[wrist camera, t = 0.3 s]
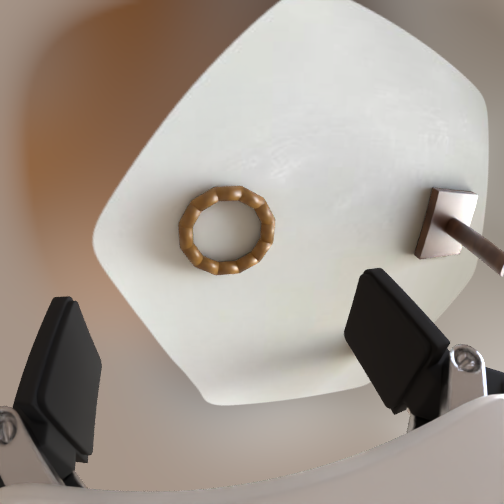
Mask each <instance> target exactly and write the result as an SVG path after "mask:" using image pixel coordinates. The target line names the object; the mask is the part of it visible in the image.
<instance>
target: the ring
mask: <svg viewBox="0 0 504 504" xmlns="http://www.w3.org/2000/svg"><path fill="white" fill-rule="evenodd" d="M237 200H238V201H240V202H242V203H244V204H246V205H248V206H250V207H252V208H253V209H254V210H255V212H256V214H257V215H258V217H259V219H260V221H261V235H260V239H259V241H258V242H257V244H256V245H255V247H254V248H253V250H252V251H251V252H250V253H248V254H246V255H245V256H243V257H241V258H239V259H238V260H236V261H225V262H217V261H214V260H212V259H209V258H207V257H205V256H203V255H202V254H201V253H200V251H199V250H198V249H197V247H196V246H195V245H194V243H193V225H194V224H195V222H196V220H197V218H198V217H199V215H200V213H201V211H203V210H205V209H206V208H208V207H210V206H211V205H213V204H215V203H216V202H218V201H237ZM178 227H179V241H180V248H181V250H182V251H183V253H184V254H185V255H186V257H187V258H188V259H189V260H190V262H191V263H192V264H193V266H195V267H197V268H199V269H202V270H204V271H207V272H209V273H211V274H214V275H225V274H237V273H241V272H243V271H244V270H246V269H248V268H250V267H251V266H253V265H255V264H257V263H259V262H260V261H261V259H262V258H263V257H264V255H265V254H266V252H267V251H268V249H269V248H270V246H271V245H272V243H273V239H274V228H275V218H274V216H273V214H272V212H271V210H270V208H269V207H268V205H267V203H266V201H265V199H264V198H263V197H261V196H259V195H257V194H256V193H254V192H252V191H250V190H248V189H246V188H245V187H243V186H222V187H213V188H212V189H210V190H208V191H206V192H205V193H203V194H201V195H200V196H198V197H196V198H195V199H193V200H192V201H191V202H190V203H189V205H188V207H187V209H186V211H185V212H184V214H183V216H182V218H181V220H180V222H179V224H178Z"/></svg>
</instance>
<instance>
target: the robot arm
mask: <svg viewBox="0 0 504 504" xmlns="http://www.w3.org/2000/svg"><path fill="white" fill-rule="evenodd" d="M344 337H345V340H346V341H347V343H348V345H349V346H350V348H351V349H352V351H353V353H354V354H355V356H356V358H357V359H358V361H359V363H360V364H361V366H362V367H363V369H364V371H365V372H366V374H367V376H368V377H369V379H370V381H371V382H372V384H373V385H374V387H375V389H376V391H377V392H378V394H379V396H380V397H381V399H382V401H383V402H384V404H385V406H386V407H387V408H389V409H391V410H392V412H393V413H394V415H395V414H397V413H400V412H402V411H404V410H406V409H407V408H408V409H409V410H410V418H409V423H408V428H407V433H406V434H404V435H402V436H400V437H398V438H395V439H393V440H391V441H389V442H386V443H384V444H382V445H379V446H377V447H374V448H372V449H369V450H367V451H364V452H362V453H359V454H357V455H354V456H351V457H348V458H345V459H342V460H339V461H336V462H333V463H330V464H327V465H324V466H320V467H317V468H314V469H310V470H307V471H303V472H299V473H295V474H291V475H287V476H283V477H279V478H274V479H269V480H264V481H259V482H253V483H247V484H241V485H235V486H227V487H220V488H211V489H200V490H188V491H164V492H137V491H111V490H97V489H88V488H87V486H86V485H85V484H84V483H83V481H82V480H81V479H80V477H79V476H78V475H77V473H76V472H75V462H83V463H88V455H91V454H92V452H93V439H94V425H95V415H96V405H97V398H98V390H99V389H98V388H99V382H100V375H101V368H102V364H101V359H100V357H99V354H98V352H97V350H96V348H95V345H94V343H93V340H92V338H91V336H90V333H89V331H88V328H87V326H86V323H85V321H84V318H83V315H82V313H81V310H80V308H79V304H78V302H77V301H73V300H72V298H71V297H55V298H53V300H52V302H51V304H50V306H49V308H48V311H47V313H46V315H45V317H44V320H43V322H42V325H41V327H40V329H39V332H38V334H37V337H36V339H35V342H34V344H33V347H32V349H31V352H30V355H29V357H28V360H27V363H26V366H25V369H24V372H23V375H22V378H21V381H20V384H19V387H18V390H17V394H16V397H15V401H14V404H13V408H11V407H8V406H0V504H504V373H503V372H500V371H497V370H493V369H490V368H487V367H485V366H484V361H483V358H482V357H481V355H480V353H478V351H477V350H475V349H474V348H472V347H471V346H468V345H464V344H458V345H455V346H454V347H452V349H451V350H450V351H449V350H448V349H447V347H448V346H449V344H450V341H449V340H448V339H447V338H446V337H445V336H444V334H443V333H442V332H441V331H440V330H439V329H438V328H437V326H435V324H434V323H433V322H432V321H431V320H430V319H429V318H428V316H427V315H426V314H425V313H424V312H423V311H422V310H421V309H420V308H419V307H418V305H417V304H416V303H415V302H414V301H413V300H412V299H411V298H410V297H409V296H408V295H407V294H406V293H405V292H404V291H403V290H402V288H401V287H400V286H399V285H398V284H397V283H396V282H395V281H394V280H393V279H392V278H391V277H390V276H389V275H388V274H387V273H386V272H385V271H384V270H383V269H381V268H375V269H367V270H365V271H364V273H363V274H362V275H361V276H360V278H359V282H358V285H357V289H356V293H355V296H354V300H353V303H352V307H351V310H350V314H349V317H348V320H347V324H346V327H345V330H344Z"/></svg>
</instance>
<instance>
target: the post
mask: <svg viewBox="0 0 504 504" xmlns="http://www.w3.org/2000/svg"><path fill="white" fill-rule="evenodd" d="M477 198H478V195H477V194H475V193H473V192H469V191H461V190H452V189H443V188H432V192H431V196H430V200H429V204H428V208H427V212H426V216H425V220H424V223H423V227H422V230H421V234H420V237H419V240H418V244H417V247H416V250H415V253H414V255H415V256H416V257H417V258H419V259H426V258H433V257H441V256H449V255H456V254H460V252H461V249H462V246H464V247H465V248H467V249H468V250H469V251H470V252H472V253H473V254H474V255H476V256H477V257H478V258H479V259H481V260H482V261H483V262H484V263H486V264H487V265H488V266H489V267H490V268H492V269H493V270H494V271H495V272H496V273H498V274H499V275H500V276H504V252H503V251H502V250H501V249H499V248H498V247H497V246H495V245H494V244H493V243H491V242H490V241H488V240H487V239H486V238H484V237H483V236H481V235H480V234H479V233H477V232H476V231H474V230H473V229H471V228H470V227H469V225H470V222H471V219H472V216H473V212H474V209H475V205H476V202H477Z"/></svg>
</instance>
